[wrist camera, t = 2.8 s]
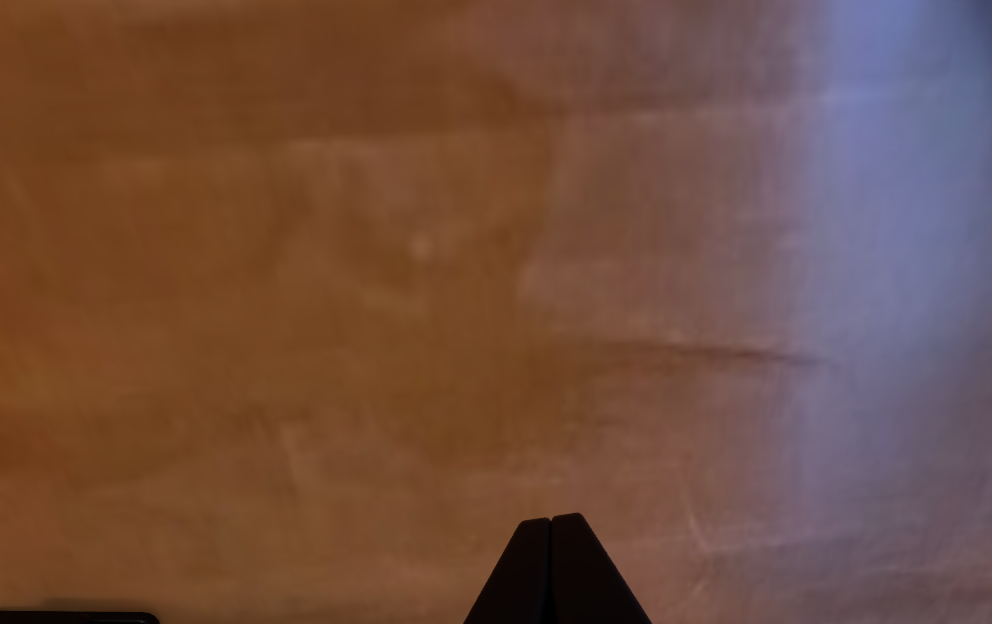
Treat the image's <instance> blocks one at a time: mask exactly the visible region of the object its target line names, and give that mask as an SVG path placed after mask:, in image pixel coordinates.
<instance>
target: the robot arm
mask: <svg viewBox="0 0 992 624" xmlns="http://www.w3.org/2000/svg"><path fill="white" fill-rule="evenodd" d="M0 624H159V621H158V619H157V618H156V617H155V616H154V615H152V614H150V613H145V612H64V611H0ZM463 624H652V622H651V621H650V619H649V618H648V616H647V615H646V613H645V612H644V610H643V608H642V607H641V605H640V604H639V602H638V601H637V599H636V598H635V596H634V594H633V593H632V591H631V590H630V588H629V587H628V585H627V584H626V582H625V580H624V579H623V577H622V576H621V574H620V573H619V571H618V570H617V568H616V566H615V565H614V563H613V562H612V560H611V559H610V557H609V556H608V554H607V552H606V551H605V549H604V548H603V546H602V545H601V543H600V542H599V540H598V538H597V537H596V535H595V534H594V532H593V531H592V529H591V528H590V526H589V524H588V523H587V521H586V520H585V518H584V517H583V515H581V514H580V513H571V514H564V515H558V516H554V517H553V518H552V521H551V520H550V519H549V518H546V517H544V518H538V519H531V520H525V521H522V522H521V523H520V524H519V525H518V527H517V529H516V531H515V532H514V534H513V536H512V538H511V539H510V541H509V543H508V545H507V547H506V548H505V550H504V552H503V554H502V555H501V557H500V559H499V561H498V563H497V564H496V566H495V568H494V570H493V571H492V573H491V575H490V577H489V579H488V580H487V582H486V584H485V586H484V587H483V589H482V591H481V593H480V595H479V596H478V598H477V600H476V602H475V603H474V605H473V607H472V609H471V611H470V612H469V614H468V616H467V618H466V619H465V621H464V623H463Z"/></svg>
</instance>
